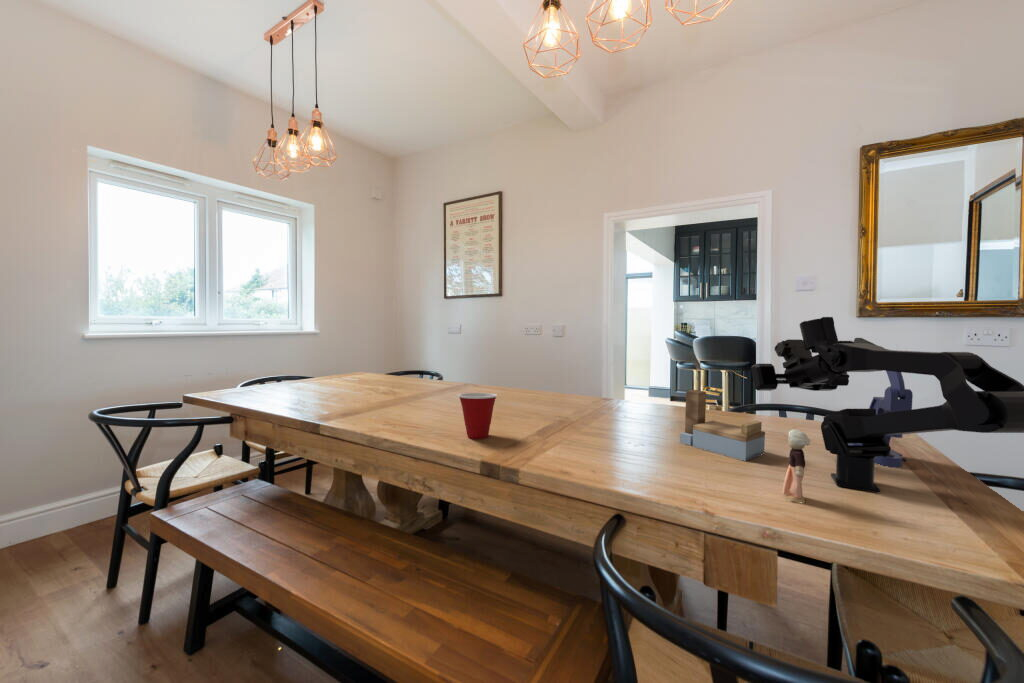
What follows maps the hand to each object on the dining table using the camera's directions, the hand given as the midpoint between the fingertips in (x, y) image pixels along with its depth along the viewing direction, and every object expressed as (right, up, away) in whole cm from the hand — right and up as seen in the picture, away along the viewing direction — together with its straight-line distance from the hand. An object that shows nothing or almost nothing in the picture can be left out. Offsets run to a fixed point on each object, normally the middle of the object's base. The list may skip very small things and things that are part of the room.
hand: (772, 384), depth 104 cm
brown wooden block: (-19, -16, +3) cm, 24 cm away
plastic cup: (-77, -15, +8) cm, 79 cm away
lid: (-14, -11, -4) cm, 18 cm away
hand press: (+19, -17, -8) cm, 26 cm away
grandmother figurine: (-16, -18, -31) cm, 39 cm away
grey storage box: (-15, -16, -2) cm, 22 cm away
